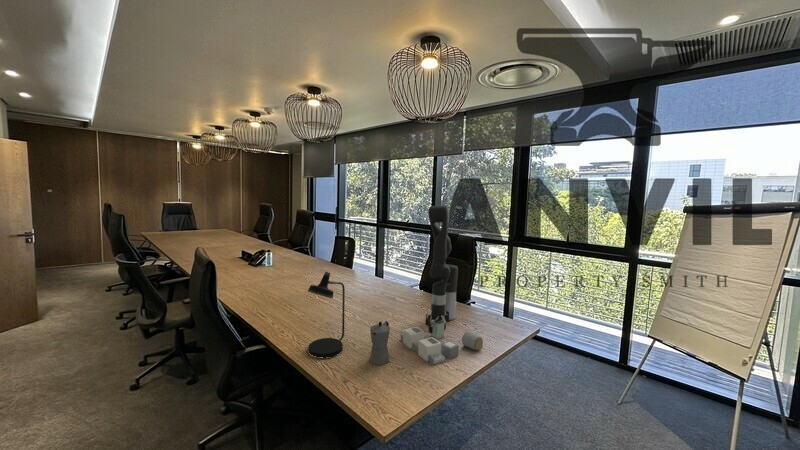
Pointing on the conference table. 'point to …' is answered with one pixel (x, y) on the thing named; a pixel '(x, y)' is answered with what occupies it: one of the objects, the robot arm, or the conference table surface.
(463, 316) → the conference table surface
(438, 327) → the module
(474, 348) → the ceramic mug
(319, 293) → the lamp
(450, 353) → the block
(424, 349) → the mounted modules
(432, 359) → the rail
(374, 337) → the coffeepot
